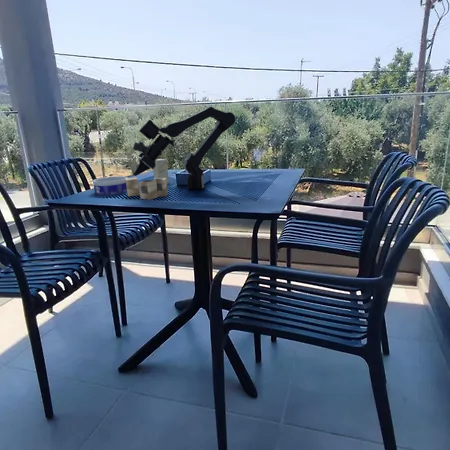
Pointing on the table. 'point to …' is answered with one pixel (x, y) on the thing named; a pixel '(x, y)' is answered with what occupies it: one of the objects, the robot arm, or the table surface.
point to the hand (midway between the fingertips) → (134, 175)
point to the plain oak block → (132, 186)
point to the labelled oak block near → (148, 189)
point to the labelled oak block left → (161, 186)
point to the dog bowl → (110, 185)
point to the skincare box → (161, 169)
